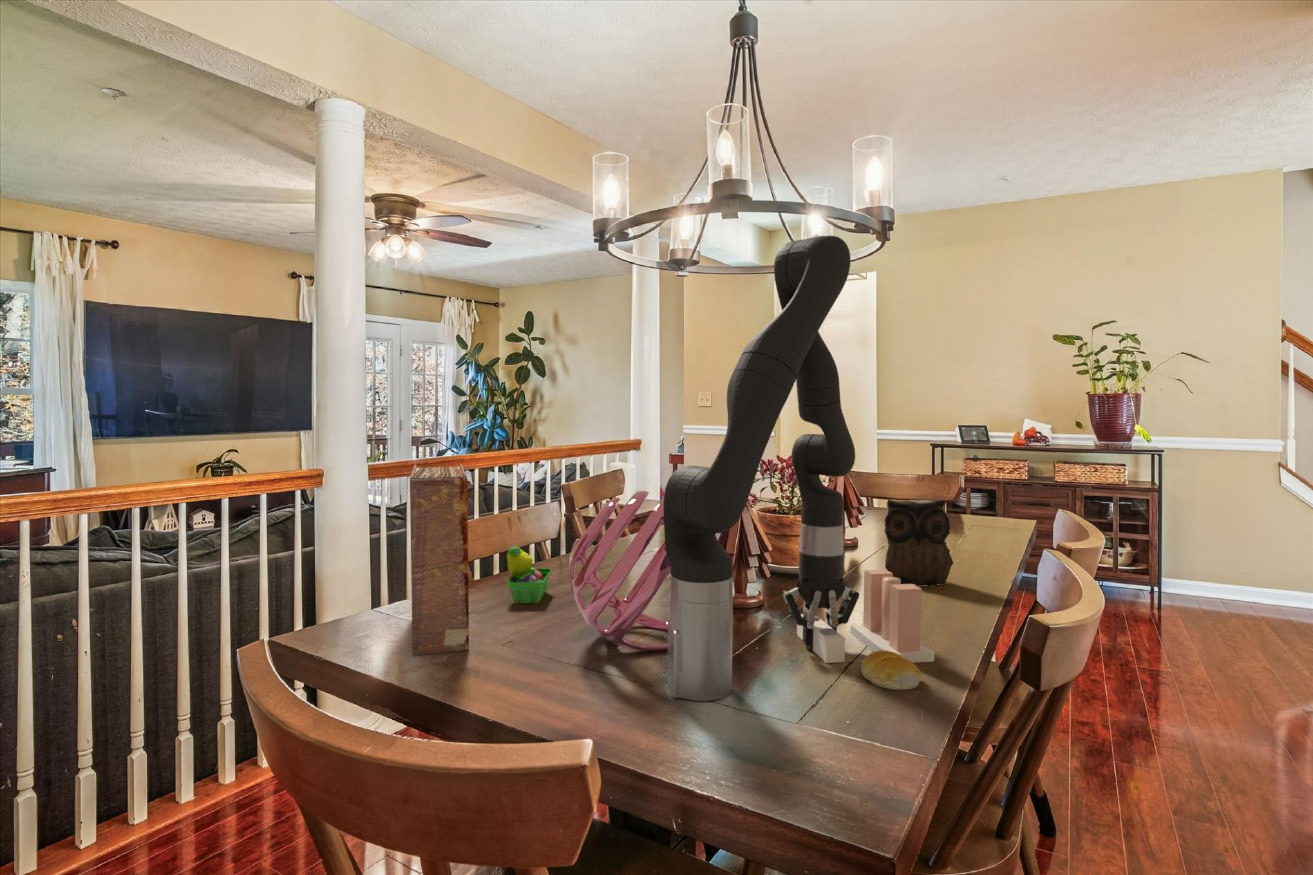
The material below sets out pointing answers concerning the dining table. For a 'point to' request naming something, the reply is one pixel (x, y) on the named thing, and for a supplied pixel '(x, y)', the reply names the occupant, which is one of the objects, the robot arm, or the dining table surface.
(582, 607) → the spiral basket
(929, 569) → the owl
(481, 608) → the dining table surface
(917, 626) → the display stand
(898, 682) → the bread roll
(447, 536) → the book
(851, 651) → the dining table surface
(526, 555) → the fruit basket
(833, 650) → the frame bar
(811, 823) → the dining table surface
